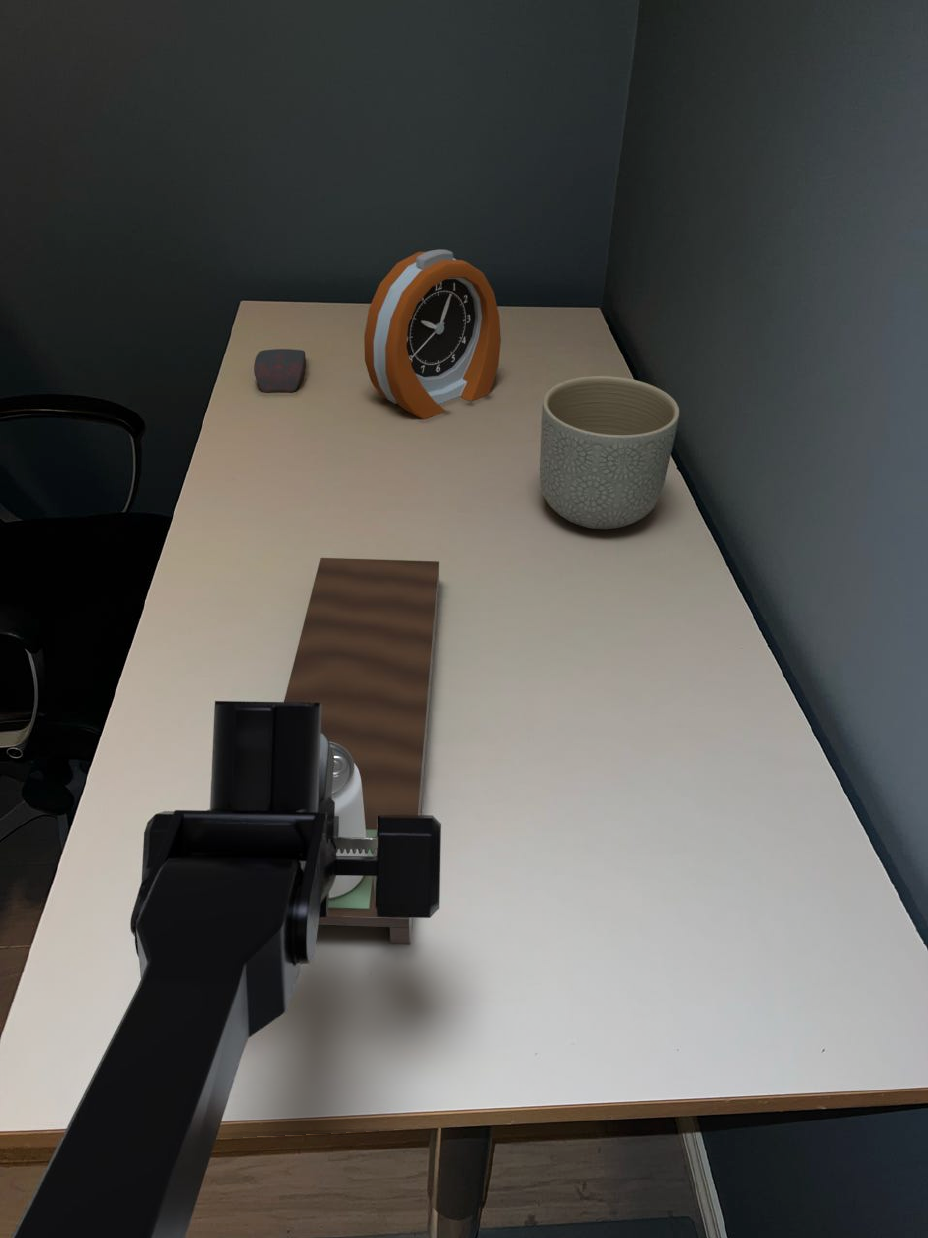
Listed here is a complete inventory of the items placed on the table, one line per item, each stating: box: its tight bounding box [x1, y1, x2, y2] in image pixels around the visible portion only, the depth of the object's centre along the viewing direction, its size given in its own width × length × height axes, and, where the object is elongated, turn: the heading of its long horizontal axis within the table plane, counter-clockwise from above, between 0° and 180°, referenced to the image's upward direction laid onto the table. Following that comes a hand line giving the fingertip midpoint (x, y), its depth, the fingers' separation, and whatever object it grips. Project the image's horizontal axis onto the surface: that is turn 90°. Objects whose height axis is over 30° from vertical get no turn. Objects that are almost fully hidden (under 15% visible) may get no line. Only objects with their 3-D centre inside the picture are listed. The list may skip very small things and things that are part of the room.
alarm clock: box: [363, 249, 502, 420], centre depth 143 cm, size 22×10×23 cm, turn 132°
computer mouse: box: [253, 348, 306, 393], centre depth 154 cm, size 8×14×4 cm, turn 3°
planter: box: [539, 375, 680, 530], centre depth 120 cm, size 17×17×15 cm
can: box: [329, 741, 368, 898], centre depth 71 cm, size 6×6×12 cm
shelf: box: [283, 557, 440, 945], centre depth 91 cm, size 48×14×4 cm, turn 178°
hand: (314, 845), depth 67 cm, fingers open, 9 cm apart
